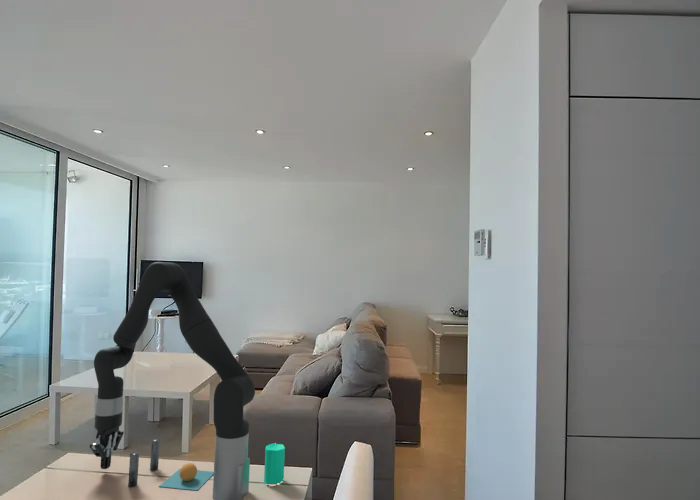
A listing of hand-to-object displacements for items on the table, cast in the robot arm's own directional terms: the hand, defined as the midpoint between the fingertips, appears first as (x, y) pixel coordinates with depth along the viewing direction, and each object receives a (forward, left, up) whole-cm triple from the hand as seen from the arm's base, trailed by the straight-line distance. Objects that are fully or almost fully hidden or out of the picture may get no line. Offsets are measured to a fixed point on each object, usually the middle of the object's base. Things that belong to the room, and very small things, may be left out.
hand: (105, 467), depth 134 cm
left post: (-13, +5, -2) cm, 14 cm away
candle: (-53, -5, -2) cm, 53 cm away
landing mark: (-27, -1, -2) cm, 27 cm away
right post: (-13, -5, -2) cm, 14 cm away
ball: (-27, 0, +1) cm, 27 cm away
